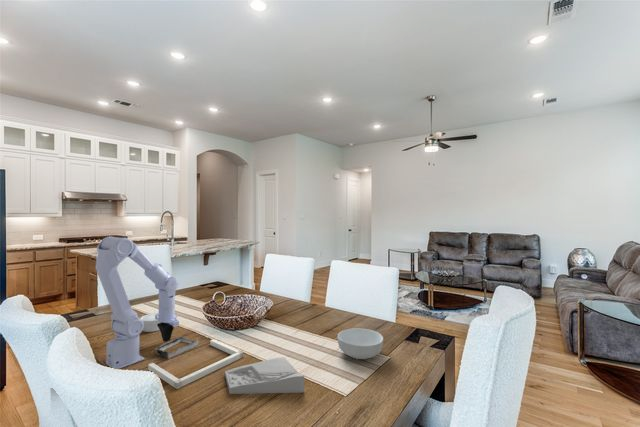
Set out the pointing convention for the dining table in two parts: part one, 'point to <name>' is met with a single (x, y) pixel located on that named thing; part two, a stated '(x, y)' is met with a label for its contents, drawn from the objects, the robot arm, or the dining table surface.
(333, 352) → the dining table surface
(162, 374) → the trivet frame
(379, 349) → the cereal bowl
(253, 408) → the dining table surface
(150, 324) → the ramekin
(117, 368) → the robot arm
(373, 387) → the dining table surface
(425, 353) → the dining table surface
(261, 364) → the door stopper
